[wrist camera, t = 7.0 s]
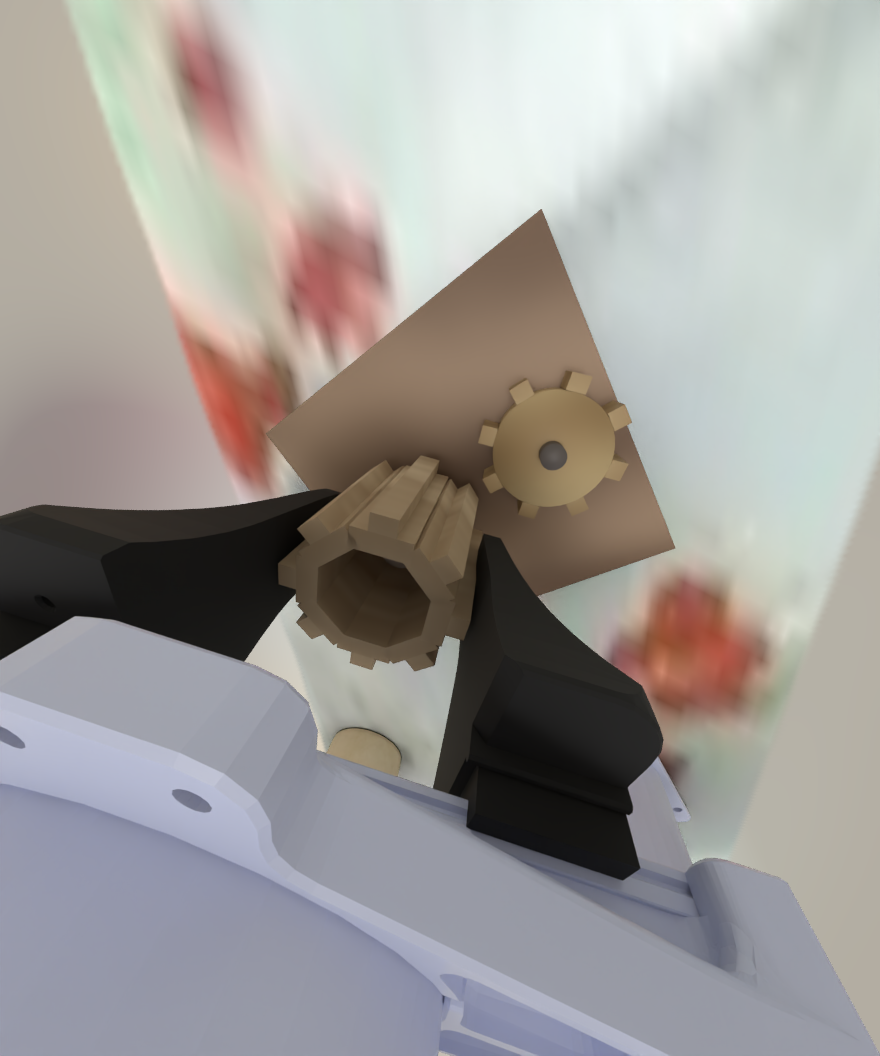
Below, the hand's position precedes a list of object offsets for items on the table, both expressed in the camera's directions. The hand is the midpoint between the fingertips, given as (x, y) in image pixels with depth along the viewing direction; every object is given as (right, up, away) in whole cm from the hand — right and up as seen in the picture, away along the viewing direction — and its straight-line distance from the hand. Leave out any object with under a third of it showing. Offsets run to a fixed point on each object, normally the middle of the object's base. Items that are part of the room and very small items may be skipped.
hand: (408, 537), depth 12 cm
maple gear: (0, +1, +1) cm, 1 cm away
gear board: (+2, +2, +2) cm, 4 cm away
